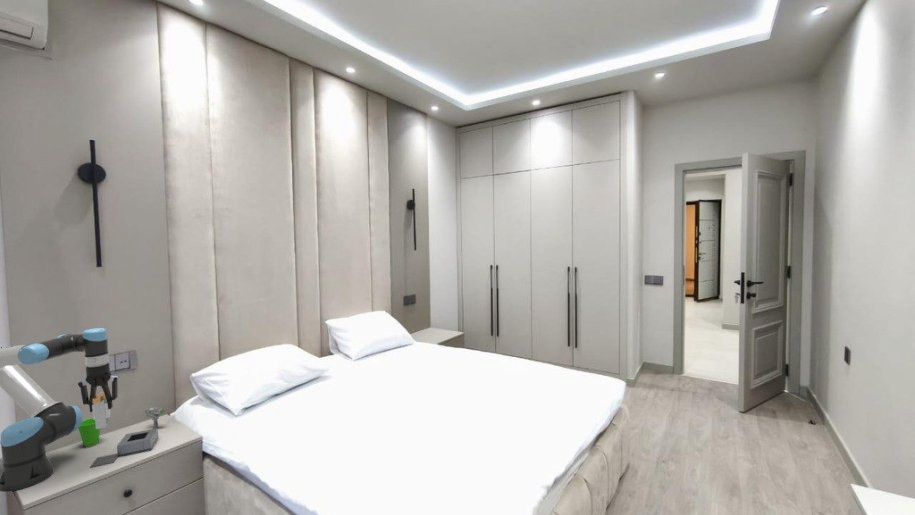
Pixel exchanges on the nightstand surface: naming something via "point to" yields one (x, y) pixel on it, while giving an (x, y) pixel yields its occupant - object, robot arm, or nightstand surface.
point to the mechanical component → (154, 414)
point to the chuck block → (137, 442)
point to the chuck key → (100, 411)
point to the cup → (89, 432)
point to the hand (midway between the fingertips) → (102, 417)
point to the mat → (104, 460)
